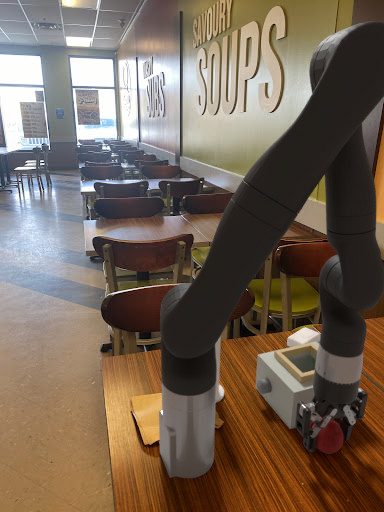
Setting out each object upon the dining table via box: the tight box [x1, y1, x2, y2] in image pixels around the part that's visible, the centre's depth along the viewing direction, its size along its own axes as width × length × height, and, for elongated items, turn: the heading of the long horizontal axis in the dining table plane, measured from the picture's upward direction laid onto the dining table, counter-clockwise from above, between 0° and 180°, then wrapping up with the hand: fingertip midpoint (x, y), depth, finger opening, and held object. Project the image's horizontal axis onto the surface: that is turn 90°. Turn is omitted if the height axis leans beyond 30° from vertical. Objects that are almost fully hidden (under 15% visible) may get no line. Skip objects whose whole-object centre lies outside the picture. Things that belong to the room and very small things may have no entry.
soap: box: [286, 327, 321, 348], centre depth 110 cm, size 9×6×3 cm, turn 133°
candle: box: [215, 335, 225, 404], centre depth 86 cm, size 7×7×25 cm
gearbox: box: [254, 342, 350, 430], centre depth 87 cm, size 18×14×10 cm
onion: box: [311, 418, 345, 455], centre depth 73 cm, size 6×6×8 cm
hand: (326, 442), depth 74 cm, fingers open, 7 cm apart
